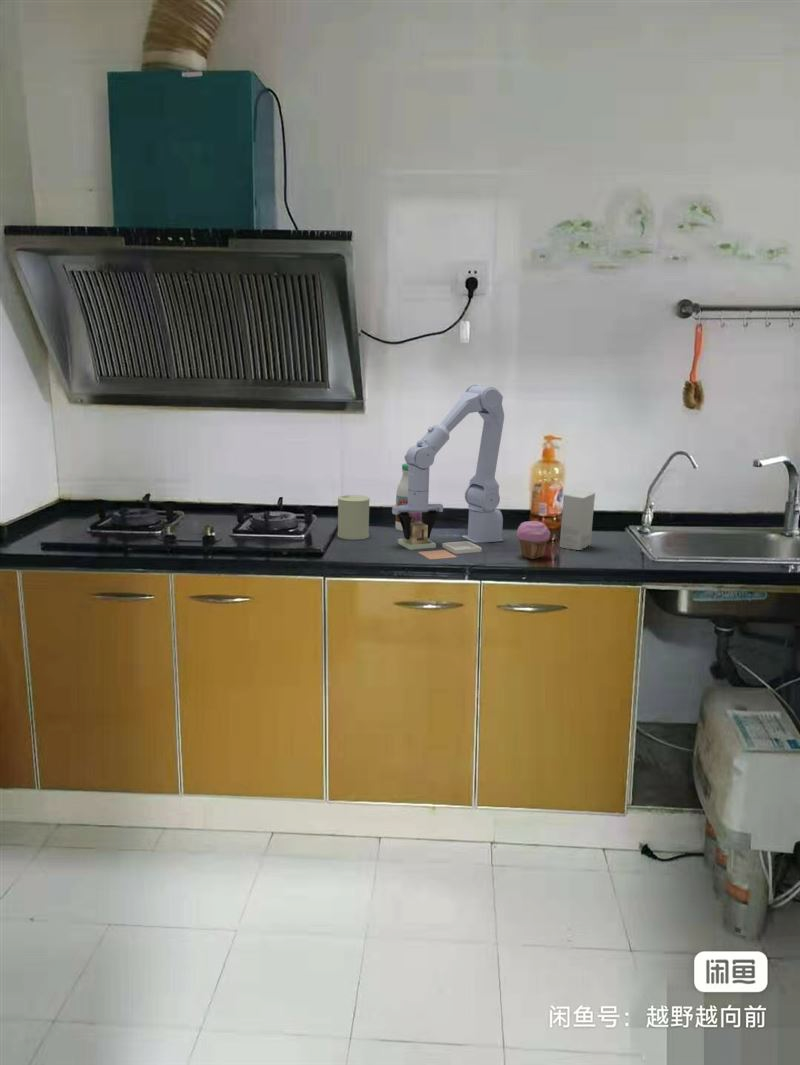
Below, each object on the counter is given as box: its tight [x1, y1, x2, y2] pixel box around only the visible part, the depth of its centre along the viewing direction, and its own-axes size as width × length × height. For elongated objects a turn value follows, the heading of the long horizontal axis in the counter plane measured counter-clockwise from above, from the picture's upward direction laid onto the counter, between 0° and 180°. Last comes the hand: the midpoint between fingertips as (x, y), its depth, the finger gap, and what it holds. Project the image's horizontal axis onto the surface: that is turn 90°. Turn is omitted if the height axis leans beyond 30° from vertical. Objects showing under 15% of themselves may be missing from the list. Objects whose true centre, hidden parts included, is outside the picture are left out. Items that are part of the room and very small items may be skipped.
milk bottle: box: [395, 463, 422, 532], centre depth 259 cm, size 8×8×20 cm
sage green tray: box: [397, 538, 437, 551], centre depth 241 cm, size 8×8×2 cm
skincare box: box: [559, 489, 596, 551], centre depth 243 cm, size 8×7×16 cm
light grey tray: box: [442, 540, 483, 555], centre depth 237 cm, size 8×8×2 cm
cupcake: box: [515, 520, 551, 560], centre depth 231 cm, size 9×9×10 cm
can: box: [337, 494, 370, 540], centre depth 249 cm, size 9×9×12 cm
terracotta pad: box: [417, 549, 458, 561], centre depth 231 cm, size 8×8×1 cm
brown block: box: [406, 521, 428, 545], centre depth 240 cm, size 4×4×6 cm
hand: (416, 538), depth 240 cm, fingers open, 5 cm apart
